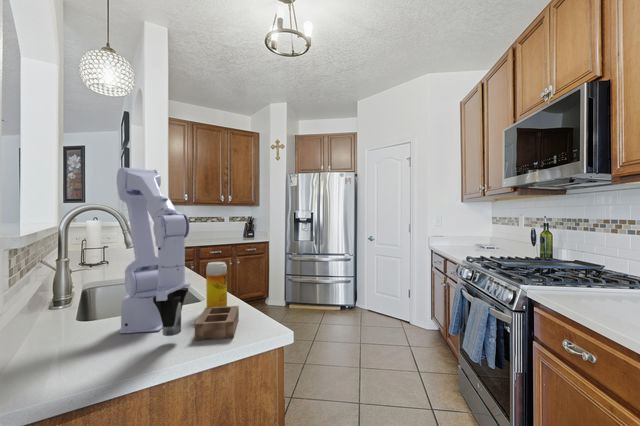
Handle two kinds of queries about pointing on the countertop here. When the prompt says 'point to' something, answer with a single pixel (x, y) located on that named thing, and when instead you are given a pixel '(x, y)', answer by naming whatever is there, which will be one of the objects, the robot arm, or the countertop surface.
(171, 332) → the peg
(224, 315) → the socket block
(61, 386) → the countertop surface
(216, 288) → the beer glass
